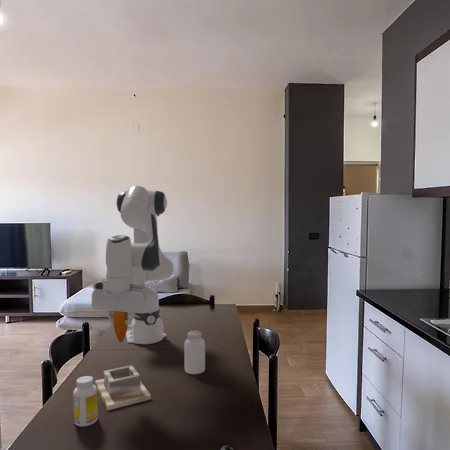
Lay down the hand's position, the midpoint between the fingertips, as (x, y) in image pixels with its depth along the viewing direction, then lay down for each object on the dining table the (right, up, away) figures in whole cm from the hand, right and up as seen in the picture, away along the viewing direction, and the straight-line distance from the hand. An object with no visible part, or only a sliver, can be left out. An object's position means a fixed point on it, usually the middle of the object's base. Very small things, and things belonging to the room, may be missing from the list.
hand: (120, 323), depth 133 cm
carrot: (0, -7, 0) cm, 7 cm away
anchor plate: (0, -24, +1) cm, 24 cm away
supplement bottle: (-6, -25, -17) cm, 31 cm away
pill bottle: (+24, -23, +18) cm, 38 cm away
